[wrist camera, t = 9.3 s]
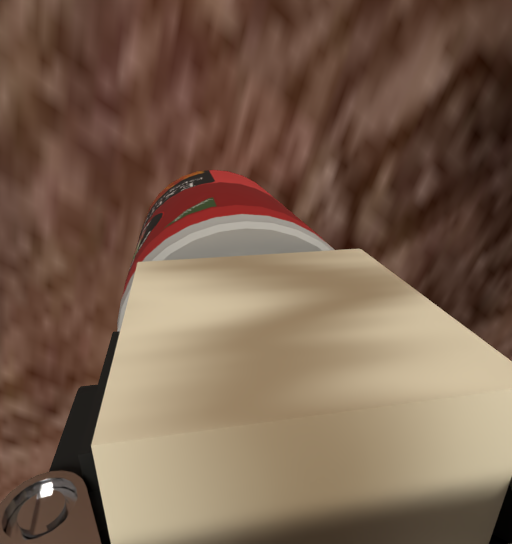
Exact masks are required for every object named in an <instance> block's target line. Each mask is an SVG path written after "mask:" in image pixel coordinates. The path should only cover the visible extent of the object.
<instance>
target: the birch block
mask: <svg viewBox="0 0 512 544" xmlns="http://www.w3.org/2000/svg"><path fill="white" fill-rule="evenodd" d="M91 448H92V453H93V458H94V463H95V468H96V473H97V478H98V482H99V487H100V492H101V497H102V502H103V507H104V512H105V517H106V522H107V527H108V532H109V537H110V542H111V544H489V541H490V539H491V536H492V533H493V530H494V527H495V524H496V521H497V518H498V515H499V512H500V509H501V506H502V503H503V500H504V498H505V495H506V492H507V489H508V486H509V483H510V480H511V477H512V361H510V360H509V359H508V358H506V357H505V356H504V355H502V354H501V353H500V352H498V351H497V350H496V349H494V348H493V347H492V346H490V345H489V344H488V343H486V342H485V341H484V340H482V339H481V338H480V337H478V336H477V335H476V334H474V333H473V332H472V331H470V330H469V329H467V328H466V327H465V326H463V325H462V324H461V323H459V322H458V321H457V320H455V319H454V318H453V317H451V316H450V315H449V314H447V313H446V312H445V311H443V310H442V309H441V308H439V307H438V306H437V305H435V304H434V303H433V302H431V301H430V300H429V299H427V298H426V297H425V296H423V295H422V294H420V293H419V292H418V291H416V290H415V289H414V288H412V287H411V286H410V285H408V284H407V283H406V282H404V281H403V280H402V279H400V278H399V277H398V276H396V275H395V274H394V273H392V272H391V271H390V270H388V269H387V268H386V267H384V266H383V265H382V264H380V263H379V262H378V261H376V260H375V259H373V258H372V257H371V256H369V255H368V254H367V253H365V252H364V251H363V250H361V249H347V250H330V251H314V252H297V253H280V254H263V255H246V256H230V257H213V258H196V259H179V260H162V261H145V262H138V263H137V267H136V271H135V275H134V278H133V282H132V286H131V290H130V294H129V298H128V302H127V306H126V310H125V314H124V318H123V322H122V326H121V330H120V334H119V338H118V342H117V346H116V349H115V353H114V357H113V361H112V365H111V369H110V373H109V377H108V381H107V385H106V389H105V393H104V397H103V401H102V405H101V409H100V413H99V416H98V420H97V424H96V428H95V432H94V436H93V440H92V444H91Z"/></svg>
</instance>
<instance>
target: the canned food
mask: <svg viewBox="0 0 512 544" xmlns="http://www.w3.org/2000/svg"><path fill="white" fill-rule="evenodd" d="M330 250H334V249H333V248H332V247H331V246H330V245H329V244H327V243H326V242H325V241H324V240H323V239H322V237H320V236H319V235H318V234H317V233H316V232H314V231H313V230H312V229H311V228H310V227H308V226H307V225H306V224H305V223H304V222H302V221H301V220H300V219H299V218H298V217H296V216H295V215H294V214H293V213H292V212H290V211H289V210H288V209H287V208H286V207H284V206H283V205H282V204H281V203H280V202H278V201H277V200H276V199H275V198H274V197H272V196H271V195H270V194H269V193H268V192H266V191H265V190H264V189H263V188H262V187H260V186H259V185H258V184H257V183H255V182H253V181H251V180H250V179H248V178H246V177H244V176H242V175H238V174H235V173H231V172H228V171H218V170H209V171H200V172H195V173H192V174H189V175H186V176H183V177H181V178H179V179H178V180H176V181H174V182H173V183H171V184H169V185H168V186H167V187H166V188H165V189H164V190H163V191H162V192H161V193H160V194H159V195H158V196H157V198H156V199H155V200H154V202H153V203H152V205H151V206H150V209H149V211H148V213H147V216H146V218H145V221H144V224H143V228H142V231H141V234H140V237H139V240H138V244H137V247H136V250H135V253H134V257H133V260H132V263H131V266H130V270H129V273H128V276H127V279H126V283H125V287H124V292H123V296H122V299H121V304H120V310H119V316H118V322H117V324H118V330H117V332H118V331H120V330H121V326H122V322H123V318H124V314H125V310H126V306H127V302H128V298H129V294H130V290H131V286H132V282H133V278H134V275H135V271H136V267H137V263H138V262H145V261H162V260H179V259H196V258H213V257H230V256H246V255H263V254H280V253H297V252H314V251H330Z"/></svg>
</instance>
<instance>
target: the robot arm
mask: <svg viewBox="0 0 512 544" xmlns="http://www.w3.org/2000/svg"><path fill="white" fill-rule="evenodd" d="M119 334H120V331H118V332H113V334H112V337H111V341H110V344H109V348H108V351H107V355H106V358H105V362H104V365H103V369H102V372H101V376H100V379H99V383H98V385H90V386H81V387H80V388H79V389H78V391H77V394H76V397H75V400H74V402H73V405H72V408H71V411H70V414H69V417H68V419H67V422H66V425H65V428H64V431H63V434H62V436H61V439H60V442H59V445H58V448H57V451H56V454H55V456H54V459H53V462H52V465H51V468H50V471H49V472H47V473H43V474H40V475H37V476H35V477H33V478H31V479H29V480H27V481H25V482H23V483H22V484H20V485H19V486H18V487H16V488H15V489H14V490H12V491H11V492H10V493H9V494H8V495H7V496H6V497H5V499H4V500H3V501H2V502H1V503H0V544H111V542H110V537H109V532H108V527H107V522H106V517H105V512H104V507H103V502H102V497H101V492H100V487H99V482H98V478H97V473H96V468H95V463H94V458H93V453H92V448H91V444H92V440H93V436H94V432H95V428H96V424H97V420H98V416H99V413H100V409H101V405H102V401H103V397H104V393H105V389H106V385H107V381H108V377H109V373H110V369H111V365H112V361H113V357H114V353H115V349H116V346H117V342H118V338H119ZM489 544H512V477H511V480H510V483H509V486H508V489H507V492H506V495H505V498H504V500H503V503H502V506H501V509H500V512H499V515H498V518H497V521H496V524H495V527H494V530H493V533H492V536H491V539H490V541H489Z"/></svg>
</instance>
